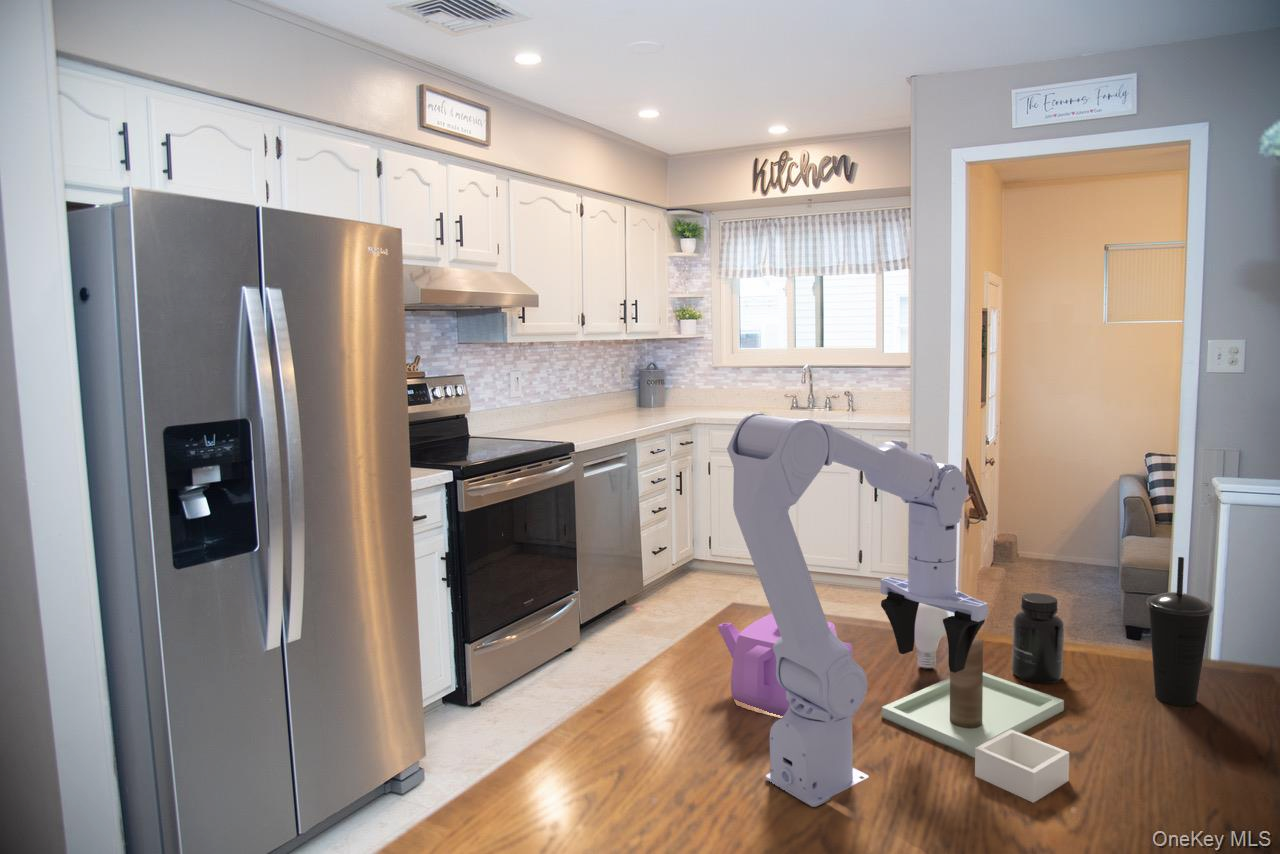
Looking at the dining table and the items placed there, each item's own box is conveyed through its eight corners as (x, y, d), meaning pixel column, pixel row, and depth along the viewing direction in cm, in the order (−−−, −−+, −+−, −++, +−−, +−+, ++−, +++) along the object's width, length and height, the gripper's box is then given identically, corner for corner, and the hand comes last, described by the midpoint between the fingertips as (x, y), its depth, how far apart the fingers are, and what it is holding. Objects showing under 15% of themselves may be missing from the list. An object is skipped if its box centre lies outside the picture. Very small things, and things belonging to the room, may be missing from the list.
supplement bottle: (1009, 680, 127) (1011, 601, 126) (1014, 663, 133) (1015, 588, 132) (1061, 688, 124) (1063, 607, 123) (1063, 670, 130) (1065, 593, 129)
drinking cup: (1189, 686, 123) (1195, 549, 121) (1220, 711, 116) (1227, 565, 113) (1133, 686, 124) (1138, 550, 121) (1159, 710, 116) (1165, 565, 114)
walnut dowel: (970, 731, 111) (971, 649, 109) (943, 720, 114) (943, 640, 113) (988, 721, 113) (989, 641, 112) (961, 711, 116) (961, 632, 115)
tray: (974, 762, 105) (975, 746, 105) (881, 721, 116) (881, 706, 116) (1063, 714, 116) (1064, 700, 116) (971, 681, 128) (971, 668, 127)
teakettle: (746, 731, 115) (745, 641, 114) (716, 679, 132) (714, 601, 130) (868, 717, 118) (868, 630, 116) (823, 668, 134) (822, 591, 133)
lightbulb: (895, 665, 134) (896, 596, 133) (927, 657, 137) (927, 589, 136) (925, 680, 129) (925, 608, 127) (957, 671, 131) (958, 601, 130)
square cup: (1033, 807, 95) (1034, 773, 95) (974, 780, 101) (975, 747, 100) (1068, 785, 99) (1069, 752, 99) (1010, 760, 105) (1010, 729, 104)
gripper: (1003, 562, 105) (1001, 670, 107) (904, 540, 117) (904, 637, 118) (968, 573, 101) (966, 685, 103) (870, 549, 113) (869, 649, 114)
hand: (930, 660), depth 110 cm, fingers open, 7 cm apart
